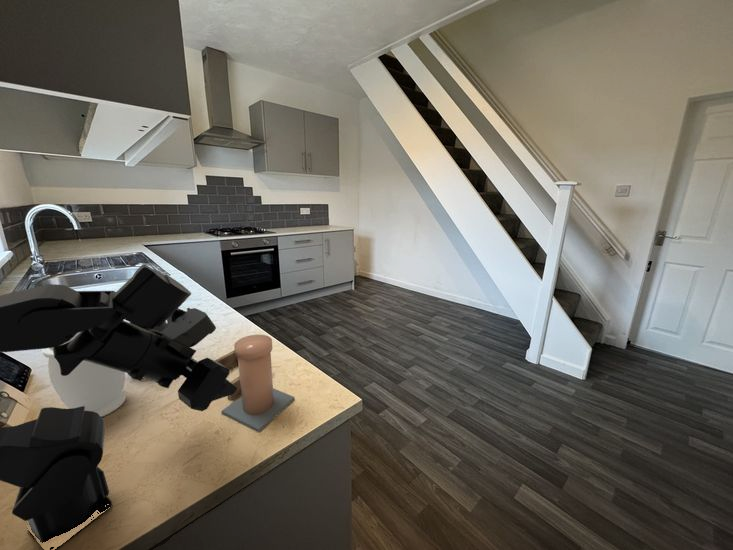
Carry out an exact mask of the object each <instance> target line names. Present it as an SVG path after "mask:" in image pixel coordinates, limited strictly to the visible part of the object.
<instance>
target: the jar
mask: <svg viewBox="0 0 733 550" xmlns="http://www.w3.org/2000/svg"><path fill="white" fill-rule="evenodd" d="M79 333H80V332H79ZM79 333H77V334H76V335H75V336H74V337H73V338H72V339H71V340H73V339H74V338H75V337H76V336H77V335H78V334H79ZM71 340H70V341H71ZM70 341H68V342H70ZM68 342H66V343H68ZM66 343H64V344H66ZM62 345H63V344H62ZM41 351H42V354H43V356H44V357H45V358H47V359H48V361H47V363H48V364H47V368H48V369H47V370H48V374H49V376H48V377H49V379H50V383H51V385H52V386H53V389H54V391H56V393H57V395H58V397H59V398H60V400H61V402H62V403H63V404H64V405H65V407H67V409H71V408H78V407H82V406H85V410H84V411H93V412H96V413H98V414H99V416H100V417H101V418H103V417H105V416H106V415H109V414H110V413H113V412H115V410H117V409H118V408H120V407H121V406H122V405H123V404H124V403H125V401H126V399H127V395H126V393H125V392H124V391H123V390H124V387H125V383H126V373H125V372H122V371H119V370H115V369H112V368H108V367H105V366H101V365H98V364H94V363H91V362H88V361H84V360H83V361H82V362H81V363H80V364H79V365H78V366H77V367H76V368H75V369H74V370H73V371H72V372H71V373H70V374H69V375H67V376H62V375H61V372H60V366H59V363H58V361H57V360H56V359H55V358H54V353H53V347H52V348H46V349H41Z"/></svg>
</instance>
